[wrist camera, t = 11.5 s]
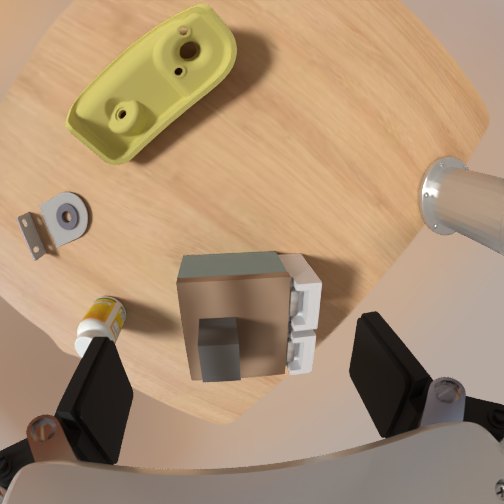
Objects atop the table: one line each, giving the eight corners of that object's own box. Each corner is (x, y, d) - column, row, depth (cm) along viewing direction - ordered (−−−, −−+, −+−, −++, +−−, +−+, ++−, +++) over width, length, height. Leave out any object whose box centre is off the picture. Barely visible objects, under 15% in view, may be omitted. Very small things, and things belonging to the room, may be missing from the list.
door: (192, 374, 37) (190, 408, 31) (177, 278, 32) (170, 307, 26) (291, 366, 38) (302, 399, 32) (298, 271, 33) (315, 298, 27)
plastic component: (118, 172, 32) (56, 121, 25) (121, 148, 37) (71, 104, 30) (253, 61, 28) (200, -7, 21) (235, 54, 33) (190, 0, 26)
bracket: (97, 228, 36) (87, 235, 33) (46, 252, 36) (34, 261, 33) (79, 183, 34) (68, 187, 30) (28, 212, 34) (15, 218, 31)
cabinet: (193, 343, 43) (190, 384, 35) (183, 255, 38) (175, 286, 30) (295, 336, 45) (310, 375, 36) (300, 250, 40) (322, 278, 32)
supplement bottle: (133, 313, 40) (117, 354, 31) (112, 331, 41) (94, 373, 32) (107, 287, 39) (83, 324, 30) (87, 307, 39) (62, 345, 30)
